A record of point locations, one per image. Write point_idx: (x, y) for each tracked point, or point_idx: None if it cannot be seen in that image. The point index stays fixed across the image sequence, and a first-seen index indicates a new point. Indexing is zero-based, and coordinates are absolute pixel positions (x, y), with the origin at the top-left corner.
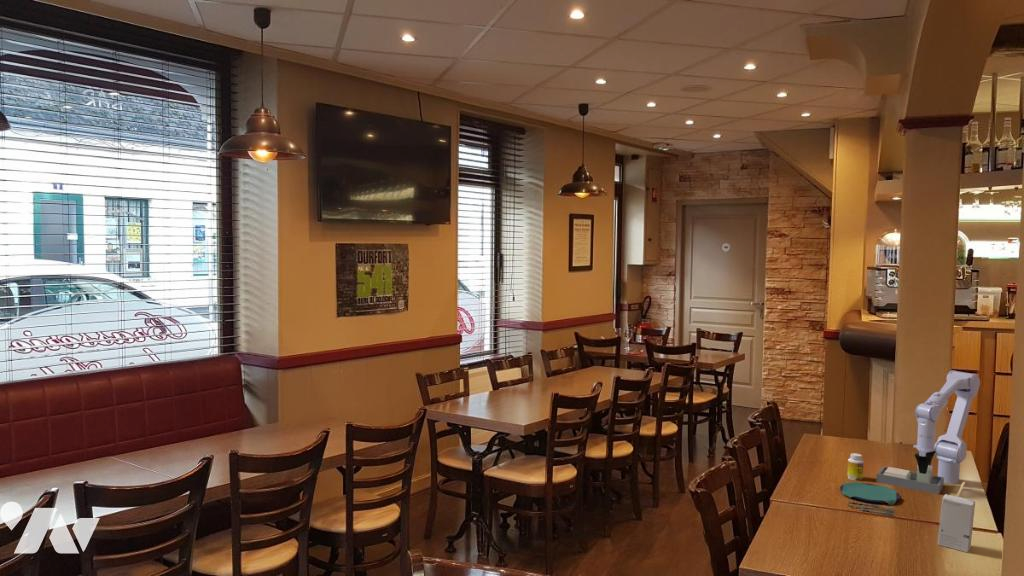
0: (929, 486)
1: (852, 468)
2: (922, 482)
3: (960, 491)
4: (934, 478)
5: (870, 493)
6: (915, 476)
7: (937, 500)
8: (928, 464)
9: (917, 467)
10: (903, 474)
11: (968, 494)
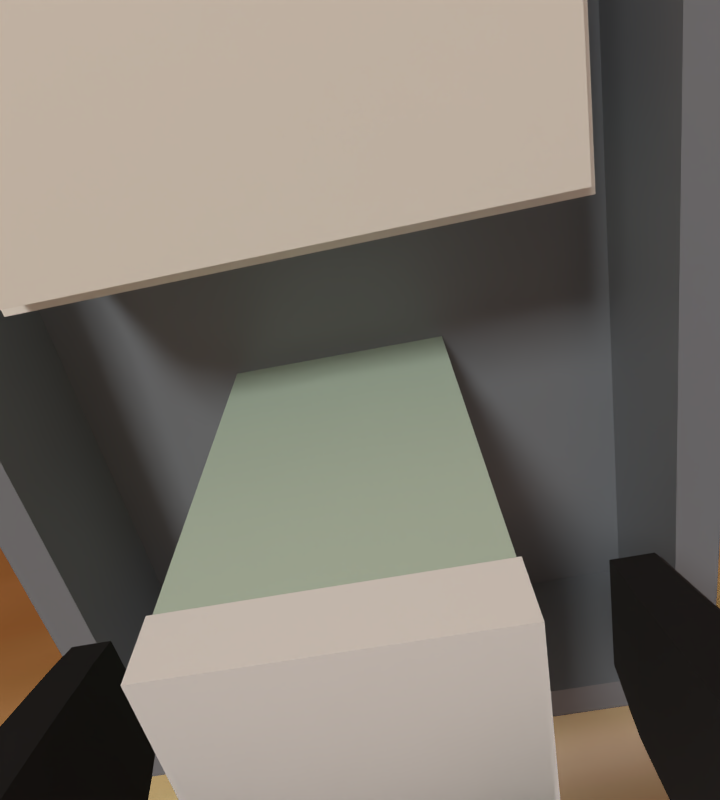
0: None
1: None
2: (44, 601)
3: (626, 706)
4: None
5: None
6: (644, 251)
7: (7, 676)
8: (673, 771)
9: (134, 658)
10: (34, 221)
11: (567, 771)
